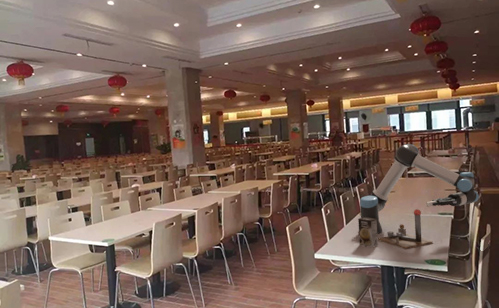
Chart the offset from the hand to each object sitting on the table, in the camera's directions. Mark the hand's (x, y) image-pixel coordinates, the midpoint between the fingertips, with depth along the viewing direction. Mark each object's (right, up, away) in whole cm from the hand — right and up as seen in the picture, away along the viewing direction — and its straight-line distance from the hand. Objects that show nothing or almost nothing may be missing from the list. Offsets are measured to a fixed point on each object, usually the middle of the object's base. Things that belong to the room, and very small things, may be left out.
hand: (427, 204), depth 246 cm
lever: (-11, -21, +5) cm, 25 cm away
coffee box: (-34, -25, +3) cm, 42 cm away
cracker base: (-12, -23, +5) cm, 26 cm away
